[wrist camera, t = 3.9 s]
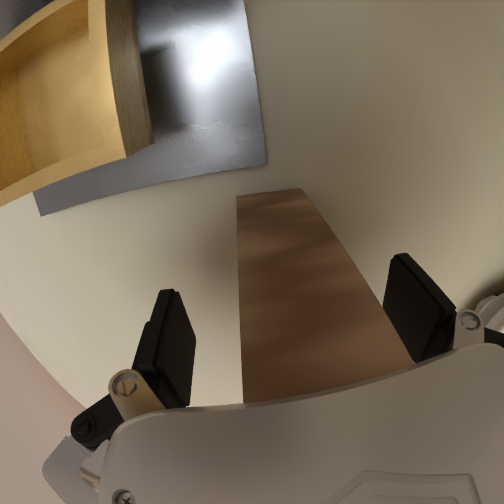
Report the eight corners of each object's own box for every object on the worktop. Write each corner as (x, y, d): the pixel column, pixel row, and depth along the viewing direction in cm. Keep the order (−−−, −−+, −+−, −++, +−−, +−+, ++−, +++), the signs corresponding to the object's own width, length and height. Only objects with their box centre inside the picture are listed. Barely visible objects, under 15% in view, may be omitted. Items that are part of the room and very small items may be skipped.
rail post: (300, 188, 16) (427, 390, 4) (303, 243, 18) (382, 446, 6) (236, 196, 16) (244, 435, 4) (245, 252, 18) (264, 472, 6)
